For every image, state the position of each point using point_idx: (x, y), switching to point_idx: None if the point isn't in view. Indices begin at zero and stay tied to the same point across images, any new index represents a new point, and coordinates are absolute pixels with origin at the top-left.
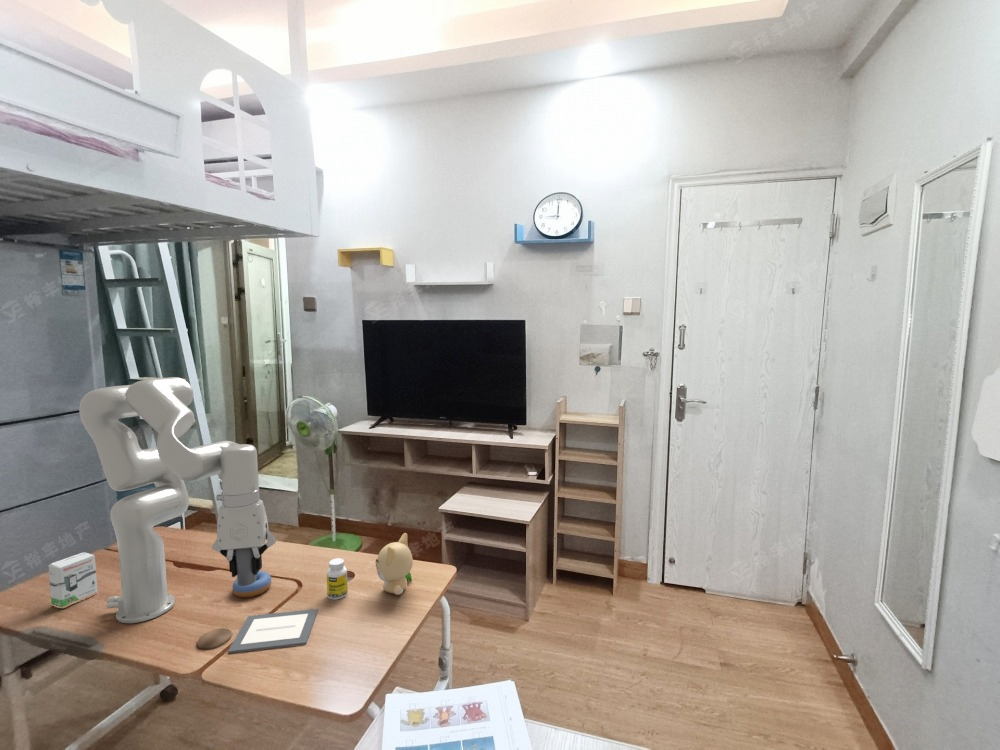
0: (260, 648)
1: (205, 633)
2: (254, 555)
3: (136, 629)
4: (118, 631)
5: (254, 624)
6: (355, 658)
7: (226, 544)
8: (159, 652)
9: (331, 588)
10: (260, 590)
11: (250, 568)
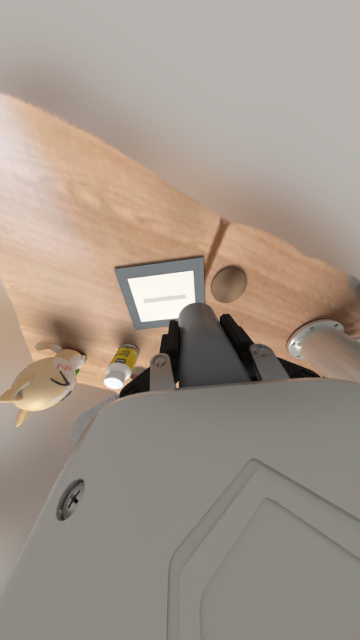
0: (166, 262)
1: (241, 294)
2: (168, 361)
3: (316, 309)
4: (335, 307)
5: None
6: (31, 232)
7: (353, 419)
8: (284, 265)
9: (126, 352)
10: None
11: (183, 330)
